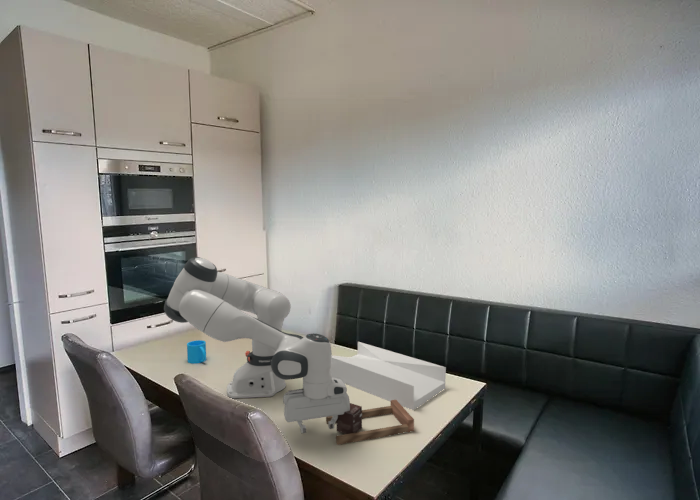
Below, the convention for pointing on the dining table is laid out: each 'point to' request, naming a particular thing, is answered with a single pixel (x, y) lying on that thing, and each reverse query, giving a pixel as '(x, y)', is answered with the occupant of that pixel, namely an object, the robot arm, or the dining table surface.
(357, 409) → the box
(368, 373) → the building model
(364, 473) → the dining table surface
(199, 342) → the mug
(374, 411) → the guide channel
